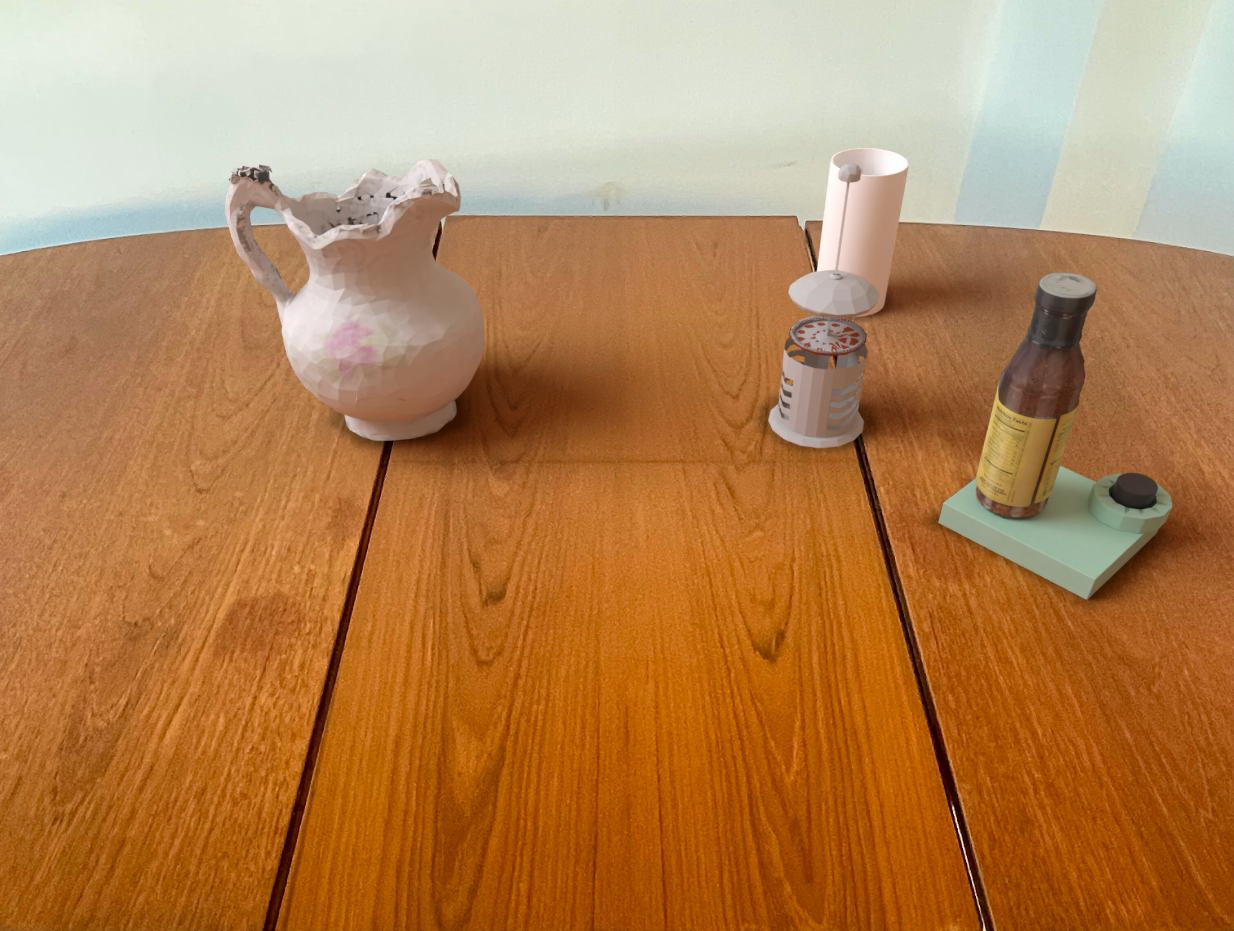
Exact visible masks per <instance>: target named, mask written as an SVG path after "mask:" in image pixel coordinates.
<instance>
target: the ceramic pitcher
mask: <svg viewBox="0 0 1234 931" xmlns="http://www.w3.org/2000/svg"><path fill="white" fill-rule="evenodd" d="M231 173H232V174H231V176H230V177H229V178H228V180H227V181H228V182H229V183H228V184H229V185H228V189H227V193H226V196H225V205H224V215H225V219H226V223H227V226H228V231H229V233H230V237H231V239H232V243H233V245H234V248H235V250H236V252H237V255H238V256H239V257H240V259H241V260H242V262H243V263H244V264H245V265H246V266H247V267H248V269H249V270H250V272H251V274H252V275H253V277H254V279H255V281H256V283H257V284H259V285H260V286H261V287H262V288H264V289H265V290H267V292H268V293H269V294H270V295H271V297H272V298H273V299H274V300H275V303H276V307H277V312H278V317H279V321H280V324H281V335H282V340H283V346H284V348H285V353H286V358H287V359H288V361H289V364H290V365H291V368H292V370H293V372H294V373H295V375H296V377H297V379H298V380H299V381H300V383H301V384H302V386H303V387H304V388H305V389H306V390H307V391H308V392H309V393H310V394H311V395H313V397H315V398H316V399H317V400H318V401H319V402H321V403H322V404H324V405H326V406H327V407H328V408H330V409H331V410H333V411H334V412H336V413H339V414H342V415H344V420H345V423H346V427H347V428H348V429H349V431H350V432H353V433H354V434H356V435H358V436H360V437H361V438H363V439H369V440H370V441H375V442H384V441H386V442H387V441H389V442H390V441H402V440H413V439H416V438H419V437H424V436H425V437H426V436H428V435H431V434H434V433H437V432H439V431H440V430H441V429H442V428H443V427H445V425H446V424H448V423H449V422H452V421H453V420H454V418H455V417H456V416H457V412H458V410H457V403H456V400H457V399H458V398H459V397H460V396H461V395H462V394H463V393H464V391H465V390H466V389H467V388H468V386H469V385H470V383H471V381H472V380H473V378H474V376H475V374H476V372H477V370H478V368H479V366H480V364H481V362H482V358H483V354H484V351H485V350H484V349H485V346H486V345H485V344H486V337H485V335H486V332H485V320H484V315H483V311H482V307H481V303H480V300H479V298H478V296H477V294H476V292H475V290H474V289H473V287H472V286H471V285H470V284H469V283H468V282H467V281H466V280H465V279H464V278H463V277H462V276H461V275H459V274H458V273H457V272H454V271H453V270H450V269H448V268H446V267H444V266H443V265H441V264H438V262H437V261H436V260H435V257H434V254H433V253H434V252H433V249H432V248H433V247H432V241H431V239H432V236H433V232H434V231H435V229H436V228H437V227H438V225H439V224H440V222H441V221H442V220H443V219H445V218H446V217H448V216H450V215H451V214H454V213H456V212H459V211H460V209H461V202H462V196H461V190H460V186H459V183H458V181H456V179H455V177H453V175H452V174H451V172H449V170H448V169H447V168H446V167H444V166H443V165H442V164H441V163H440V161H439V159H432V158H431V159H421V160H418V161H416V163H414V164H413V165H412V167H411V169H410V170H409V171H408V173H407V174H406V175H405V176H404V177H397V176H393V175H388V174H385V173H384V172H383V171H380V170H378V169H376V168H372V169H370V170H367V171H365V172H364V173H362V175H360V176H359V177H358V178H356V179H355V180H353V182H352V183H351V184H350V185H349V186H348V187H347V188H346V189H345V191H343V192H342V194H334V193H332V192H325V191H315V192H312V193H311V192H310V193H307V194H304V195H301V196H299V197H297V198H296V197H290V196H288V195H285V194H283V193H282V191H281V189H280V187H278V185H276V184H275V183H273V181H272V180H271V178H270V177H271V176H270V173H273V171H272V168H271V166H270V165H264V164H259V165H258V166H257V167H256V166H255V167H254V166H245V165H242V166H241V168H240V167H234V168H233V170H232V171H231ZM256 207H260V208H265V209H271V210H274V212H276V213H277V214H278V216H280V218H282V220H284V223H285V224H286V226H287V227H288V229H289V231H290V233H291V234H292V235H293V236H294V238H295V239H296V241H297V242H298V244H299V246H300V247H301V249H302V251H303V253H304V255H305V258H306V262H307V264H308V268H309V277H308V280H307V281H306V283H305V284H304V285H303V286H302V287H301V288H300V289H299V290H298V291H297V292H292V291H291V289H290V288H289V287H288V286H287V284H286V283H285V281H284V280H283V278H282V276H281V274H280V271H279V270H278V267H277V266H276V265H275V263H274V262H273V261H272V260H271V259H270V258H269V256H268V255H267V254H266V252H264V250H263V249H262V247H261V246H260V245H259V243H258V242H257V241H256V239H255V235H254V231H253V226H252V222H251V212H252V211H253V210H254V209H255V208H256Z"/></svg>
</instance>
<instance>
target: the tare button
mask: <svg viewBox="0 0 1234 931" xmlns="http://www.w3.org/2000/svg"><path fill="white" fill-rule="evenodd" d="M1121 474H1122V475H1120V476H1119V477H1118V478H1117V480H1116V483H1115V485H1114V488H1113V490H1112V493H1111V496H1112V498H1113V500H1114V501H1115V502H1116V503H1118V504H1120V505H1122V506H1125V507H1127V508H1132V509H1139V510H1142V509H1146V508H1148V507H1150V506H1151V504H1152V502H1153V500H1154V497H1155V495H1156V493H1157V491H1158V486H1157V484H1158V483H1157V482H1156V481H1155V480H1154V479H1153V478H1151V477H1149V476H1147V475H1145V474H1143V473H1138V472H1124V473H1121ZM1156 483H1157V484H1156Z"/></svg>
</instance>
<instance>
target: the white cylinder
mask: <svg viewBox="0 0 1234 931" xmlns="http://www.w3.org/2000/svg"><path fill="white" fill-rule="evenodd" d="M850 163H853V164H856V165H858V167H859V168H860V169H861V178H860V180H859V181H858V182H852V183H850V184H849V192H848V199H847V206H846V213H845V221H844V228H843V235H842V242H841V250H840V257H839V264H838V270H840V271H845V272H849V273H852V274H855V275H859V276H861V277H863V278H864V279H865V280H867V281H868V282H869V283H871V284H872V285H873V286H874V287H875V288H876V290H877V291H878V293H879V300H878V303H877V304H876V306H875V307H873V308H872V309H871V310H870V311H869V312H867V313H865V314H862V315H859V316H856V317H855V318H860V317H861V318H862V317H866V316H867V317H868V316H872V315H874V314H876V313H878V312H880V311H881V310H882V309H883V308H884V306H885V303H886V297H887V290H888V286H889V280H890V274H891V268H892V263H893V262H892V261H893V258H894V251H895V246H896V241H897V234H898V230H899V224H900V218H901V212H902V206H903V202H904V194H905V191H906V190H905V189H906V183H907V177H908V172H909V161H908V159H907V158H906V157H905V156H903V155H901V154H900V153H897V152H894V151H891V150H888V149H882V148H873V147H858V148H857V147H856V148H849V149H844V150H842V151H839V152H837V153H834V155H832V156H831V159H830V163H829V171H828V178H827V188H826V194H825V201H824V202H825V204H824V209H823V210H824V211H823V219H822V227H821V235H820V243H819V253H818V258H817V266H816V267H817V268H816V272H817V271H826V270H835V268H836V261H837V253H838V246H839V239H840V231H841V224H842V217H843V209H844V202H845V195H846V187H847V182H843V181H841V180H839V179H838V173H839V170H840V168H841V167H842V166H843V165H845V164H850Z"/></svg>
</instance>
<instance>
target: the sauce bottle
mask: <svg viewBox="0 0 1234 931" xmlns="http://www.w3.org/2000/svg"><path fill="white" fill-rule="evenodd" d="M1097 288H1098V287H1097V284H1096V283H1095V282H1094V281H1093V280H1092V279H1091V278H1088V277H1087V276H1084V275H1082V274H1077V273H1072V272H1071V273H1069V272H1052V273H1049V274H1046V275H1045V276H1043V277H1042V278H1040V280H1038V283H1037V287H1036V289H1035V294H1034V303H1035V305H1034V309H1033V312H1032V316H1031V320H1030V324H1029V325H1028V327H1027V329H1026V330H1027V331H1026V335H1025V336H1024V338H1023V339H1022V341H1021V343H1020V344H1019V346H1018V347H1017V349H1016V351H1015V353H1014V354H1013V355H1012V358H1011V359H1010V361H1009V362H1008V364H1007V365H1006V366H1005V367H1004V368H1003V370H1002V371H1001V374H1000V376H999V378H998V382H997V383H998V384H997V388H996V391H995V396H994V401H993V405H992V409H991V414H990V418H989V422H988V426H987V430H986V434H985V437H984V442H983V446H982V451H981V454H980V458H979V463H978V467H977V471H976V475H975V478H976V484H977V485H976V496H977V499H978V501H979V502H980V504H981V505H982V506H983V507H985V508H986V509H987V510H989V511H991V512H992V513H994V514H997V515H999V516H1001V517H1011V518H1026V517H1031V516H1034V515H1036V514H1037V513H1039V512H1040V511H1041V510H1042V509H1043V508H1044V507H1045V506H1046V504H1047V502H1048V498H1049V496H1050V495H1051V493H1052V490H1053V487H1054V484H1055V480H1056V477H1057V474H1058V471H1059V467H1060V466H1061V464H1062V461H1063V457H1064V453H1065V450H1066V448H1067V444H1068V441H1069V437H1070V434H1071V430H1072V428H1073V425H1074V422H1075V418H1076V414H1077V411H1078V409H1079V406H1080V397H1081V392H1082V389H1083V387H1084V384H1085V380H1086V371H1085V362H1086V360H1085V356H1084V354H1083V352H1082V346H1081V344H1080V343H1081V340H1082V337H1083V329H1084V327H1085V322H1086V319H1087V316H1088V312H1089V310H1090V309H1091V308H1092V307H1093V305H1094V304H1095V300H1096V296H1097V291H1098V290H1097Z"/></svg>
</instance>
